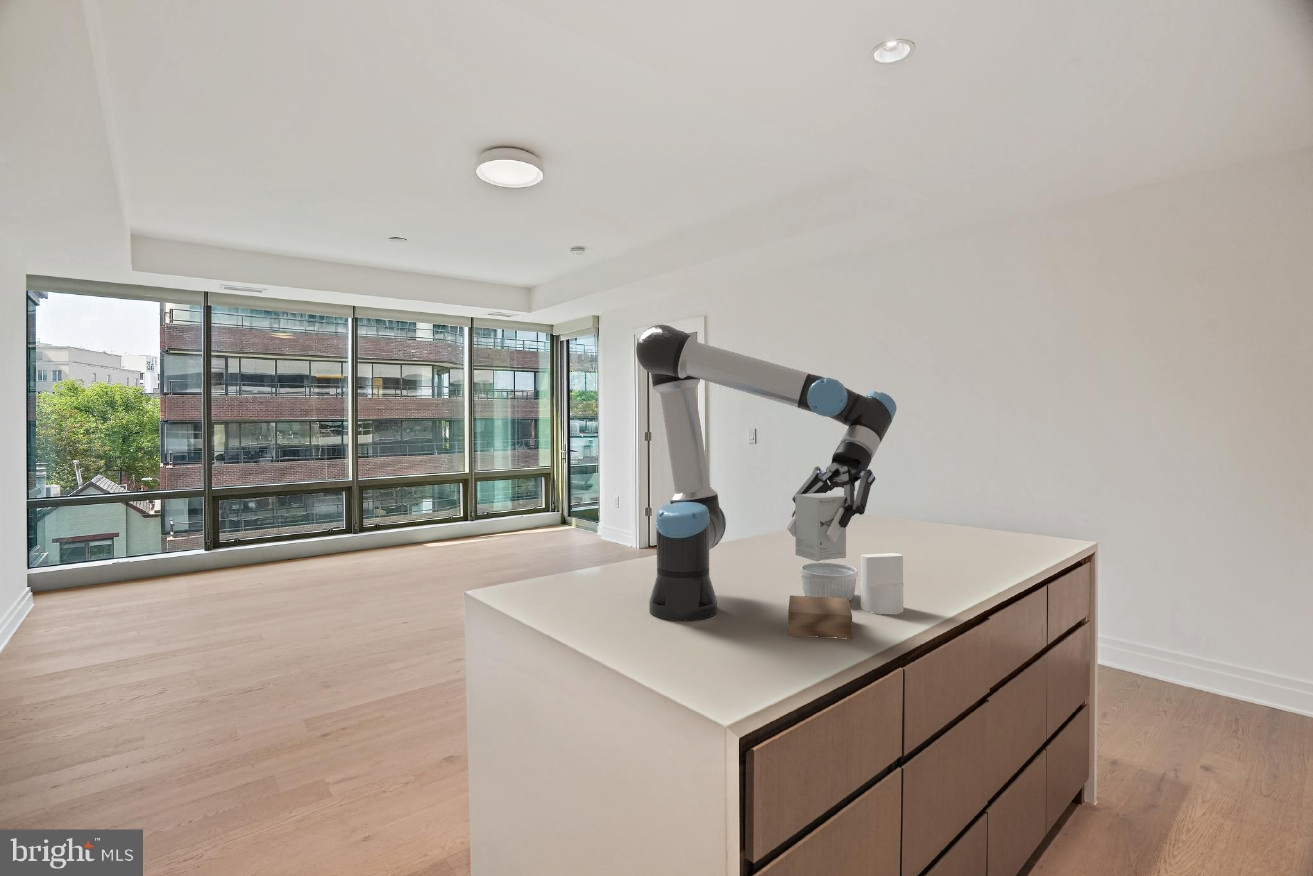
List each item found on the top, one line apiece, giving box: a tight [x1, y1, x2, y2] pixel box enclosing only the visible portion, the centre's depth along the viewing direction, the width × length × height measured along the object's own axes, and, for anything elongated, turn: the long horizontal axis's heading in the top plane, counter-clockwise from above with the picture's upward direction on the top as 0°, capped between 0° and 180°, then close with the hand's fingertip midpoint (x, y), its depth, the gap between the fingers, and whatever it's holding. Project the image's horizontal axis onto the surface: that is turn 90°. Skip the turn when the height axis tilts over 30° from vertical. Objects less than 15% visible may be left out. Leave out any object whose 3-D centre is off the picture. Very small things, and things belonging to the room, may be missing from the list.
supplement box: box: [794, 492, 847, 563], centre depth 130 cm, size 7×7×13 cm
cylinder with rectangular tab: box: [860, 552, 904, 615], centre depth 143 cm, size 9×9×12 cm
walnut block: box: [787, 595, 853, 640], centre depth 131 cm, size 12×12×5 cm
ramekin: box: [799, 561, 859, 602], centre depth 153 cm, size 13×13×7 cm
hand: (810, 535), depth 128 cm, fingers closed on supplement box, 9 cm apart
